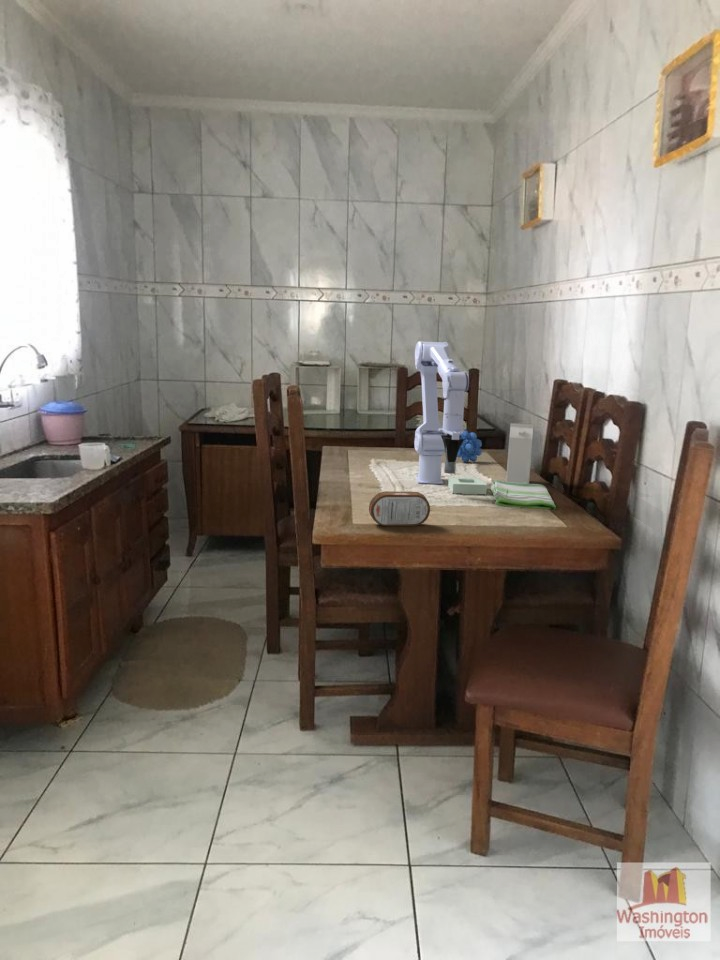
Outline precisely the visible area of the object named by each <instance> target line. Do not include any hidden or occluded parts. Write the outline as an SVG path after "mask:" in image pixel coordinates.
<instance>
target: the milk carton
mask: <svg viewBox="0 0 720 960" xmlns="http://www.w3.org/2000/svg"><path fill="white" fill-rule="evenodd" d="M533 436H534V424H532V423H531V424H527V423H513V422H511V423H510V427H509V436H508V437H509V439H508V449H507V450H508V452H507V453H508V454H507V462H506V463H507V466H506V479H505V482H515V483H528V484H530V477H531V476H530V473H531V461H532V450H533V439H534V438H533Z"/></svg>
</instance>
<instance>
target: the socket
mask: <svg viewBox="0 0 720 960" xmlns="http://www.w3.org/2000/svg"><path fill="white" fill-rule="evenodd" d="M447 481H448V482H447V487H448V489H449V488H450V489H449V490H451V491H452V492H451V491H450V492H451V494H452V493H462V494H461V495H477V494H485V496H486V495H487V487H488V485H487V483H486V482H485V481H484V479H482V478H481V477H461V476H460V477H456V476H455V477H454V476H452V477H451V476H450V477H449V476H448V480H447Z"/></svg>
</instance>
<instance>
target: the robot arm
mask: <svg viewBox="0 0 720 960" xmlns="http://www.w3.org/2000/svg"><path fill="white" fill-rule="evenodd" d="M414 348H415V349H414V365H415V370H416V371H418V372H420V379H421V397H422V398H421V399H422V400H421V401H422V420H423V421H422V422H423V423H422V424H421V425H419V426H418V427H417V428H416V430H414V431H415V432H414V441H413V442H414V449H415V451H416V453H418V455H419V457H418V473H417V475H415V476H414V477H415V480H416V482H417V483H418V484H430V485H431V484H435V485H437V484H439V485H441V484H442V485H443V484H444V481H443V480H442V466H443V465H442V462H443V456H444V455H445V452H446V450H447V460H448V462H455V461H456V462H457V459H458V457H457V454H458V451H459V448H460V446H461V444H462V442H463V439H460V438H461V436H460V435H461V434H462V433H463V430H464V429H463V425H464V411H465V395H466V393H467V391H468V390H469V386H470V385H469V384H470V377H469V374H468V372H467V371H461V369H460V368H459V367H458V365H457V363H456V362H455V361H454V359H453V358H450V345H449V344H448V342H446V341H443V342H440V341H439V342H438V341H421V340H420V341H417V342H416V344H415V347H414ZM437 373H438V374H439V376H440V378H441V381H442V382H441V384H442V385H441V386H442V397H443V398H444V400H443V416H442V417H443V418H442V423H440V422H439V405H438V384H437V383H438V382H437Z"/></svg>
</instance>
